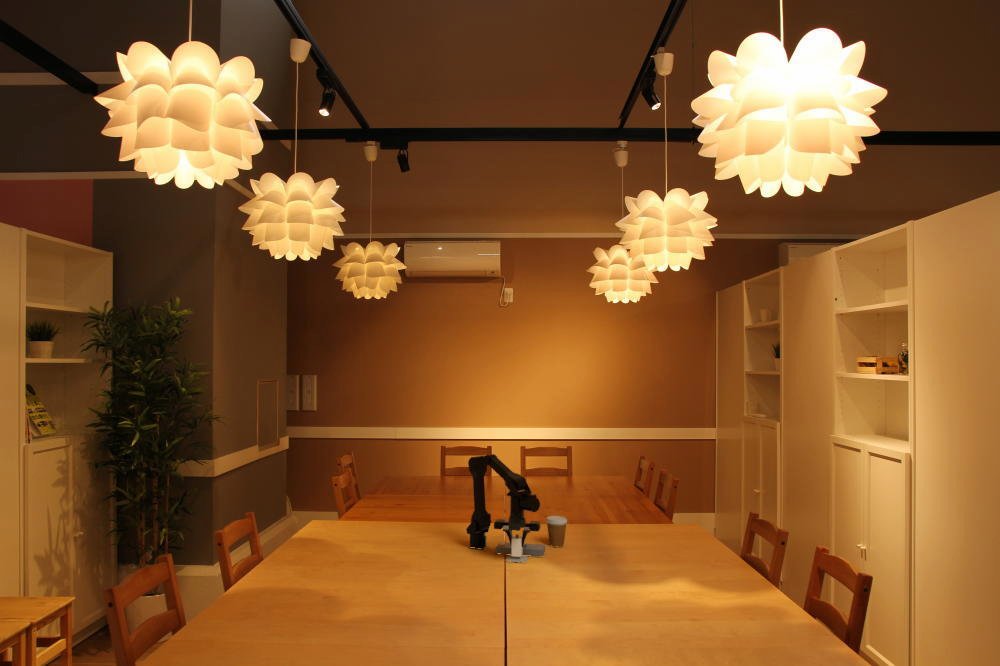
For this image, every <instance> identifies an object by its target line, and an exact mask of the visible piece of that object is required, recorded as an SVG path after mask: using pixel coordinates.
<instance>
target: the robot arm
mask: <svg viewBox="0 0 1000 666" xmlns="http://www.w3.org/2000/svg"><path fill="white" fill-rule="evenodd" d="M467 461H468V462H467V466H468V471H469V473H470V474H471V477H472V481H473V483H472V484H473V507H474V510H473V513H472V515H471V518H470V523H469V525H468V526H467V527H466V528H465V529H466V534H467V535H469V547H475V548H484V547H485V548H486V546H487V536H486V533H489V530H490V527H491V524H492V515H491V513H489V512H488V511H487V508H486V488H485V487H486V486H485V475H486V473H487V471H488V466H489V468H491V469H492V470H493V471H494V472H495V473H496V474H497V475H498V476H499V477H500V478H501V479H502V480H503V481H504V485H505V487H506V488H507V489H508V490H509V492H507V493H506V496H507V497H509V498H510V500H509V503H510V505H509V508H510V513H509V517H508V521H506V519H505V518H504V519H501V518H497V519H496V520H495V521H494V522H493V529H494V530H502V532H504V533H505V534H506V535H507V537H508V540H509V543H510V544H511V546H512V537H513V531H517V532H519V531H520V530H521V528H523V530H522V535H521V537H522V547H523V545H524V543H525V542H526V538H527V535H528V534H530V532H540V530H541V522H540V521H539V520H530V522H527V521H526V520H527V519H526V517H525V511H528V512H531V513H536V512H538V511H539V510H540V506H541V502H540V499H539V498H538V497H537V494H534V493H533V494H532V490H531V488H530V487H529V484H528V483H527V479H526V478H525V477H524V476H523V475H521V474H519V473H516V472H514V471H512V470H511V469H510V468H509V467H508V466H507V465H506V464H505V463H503V461H502V460H500V458H498V456H497V455H496V454H494V453H490V454H486V455H479V456H471V457H470V458H469V459H468V460H467ZM485 548H484V549H485Z"/></svg>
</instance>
